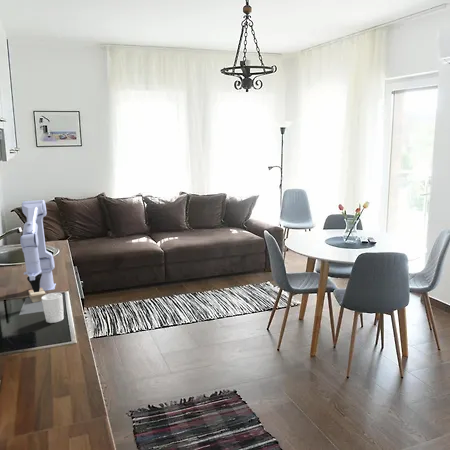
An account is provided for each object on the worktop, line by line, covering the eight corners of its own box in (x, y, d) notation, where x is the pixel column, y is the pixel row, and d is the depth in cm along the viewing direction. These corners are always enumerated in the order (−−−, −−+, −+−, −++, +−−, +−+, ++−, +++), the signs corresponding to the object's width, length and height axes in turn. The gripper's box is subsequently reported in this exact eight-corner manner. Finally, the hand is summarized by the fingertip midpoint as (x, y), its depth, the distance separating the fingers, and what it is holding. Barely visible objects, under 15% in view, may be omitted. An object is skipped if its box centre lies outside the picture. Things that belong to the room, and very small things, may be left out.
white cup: (40, 322, 184) (36, 299, 182) (53, 315, 191) (50, 292, 189) (56, 324, 181) (53, 300, 179) (69, 316, 189) (66, 293, 187)
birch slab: (32, 302, 207) (29, 296, 215) (46, 299, 210) (42, 293, 218) (31, 296, 206) (28, 290, 215) (45, 293, 209) (42, 287, 218)
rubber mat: (26, 298, 214) (25, 297, 214) (57, 294, 217) (57, 293, 217) (19, 315, 193) (18, 314, 193) (54, 310, 197) (54, 309, 196)
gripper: (24, 258, 204) (29, 287, 207) (19, 267, 190) (24, 298, 193) (41, 256, 206) (45, 285, 209) (38, 264, 192) (42, 295, 195)
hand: (36, 291), depth 201 cm, fingers closed
